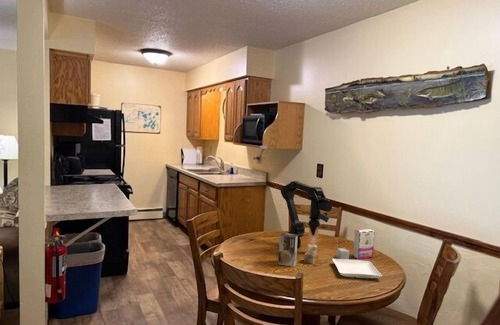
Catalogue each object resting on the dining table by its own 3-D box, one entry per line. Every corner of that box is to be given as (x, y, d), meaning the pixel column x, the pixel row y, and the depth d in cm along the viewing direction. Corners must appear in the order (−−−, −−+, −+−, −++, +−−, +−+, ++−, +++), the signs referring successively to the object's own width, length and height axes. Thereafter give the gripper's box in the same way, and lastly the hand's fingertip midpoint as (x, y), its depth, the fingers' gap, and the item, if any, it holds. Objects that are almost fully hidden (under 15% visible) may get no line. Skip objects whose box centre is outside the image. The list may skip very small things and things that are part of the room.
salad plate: (331, 263, 195) (331, 257, 194) (369, 266, 194) (369, 260, 194) (339, 279, 173) (339, 272, 173) (382, 282, 173) (382, 275, 172)
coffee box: (296, 263, 191) (298, 234, 190) (293, 267, 185) (296, 237, 184) (280, 260, 194) (282, 232, 193) (277, 264, 188) (279, 235, 187)
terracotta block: (308, 236, 206) (309, 228, 205) (309, 234, 211) (309, 226, 210) (317, 237, 205) (318, 229, 204) (317, 235, 210) (318, 227, 209)
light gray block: (341, 259, 201) (341, 251, 201) (336, 256, 206) (337, 248, 206) (348, 259, 202) (349, 251, 202) (344, 256, 207) (345, 248, 207)
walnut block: (303, 262, 193) (304, 253, 192) (306, 260, 197) (307, 251, 197) (312, 264, 191) (313, 255, 190) (315, 261, 195) (315, 253, 195)
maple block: (308, 255, 206) (308, 246, 206) (307, 252, 211) (307, 244, 211) (316, 255, 206) (317, 247, 206) (315, 252, 211) (315, 244, 211)
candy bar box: (367, 255, 212) (369, 228, 211) (373, 257, 208) (375, 230, 206) (352, 256, 208) (354, 229, 207) (357, 259, 203) (360, 231, 202)
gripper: (329, 212, 196) (327, 240, 197) (328, 206, 214) (326, 231, 215) (309, 211, 198) (307, 237, 199) (310, 204, 216) (308, 229, 217)
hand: (313, 234), depth 208 cm, fingers closed on terracotta block, 5 cm apart
